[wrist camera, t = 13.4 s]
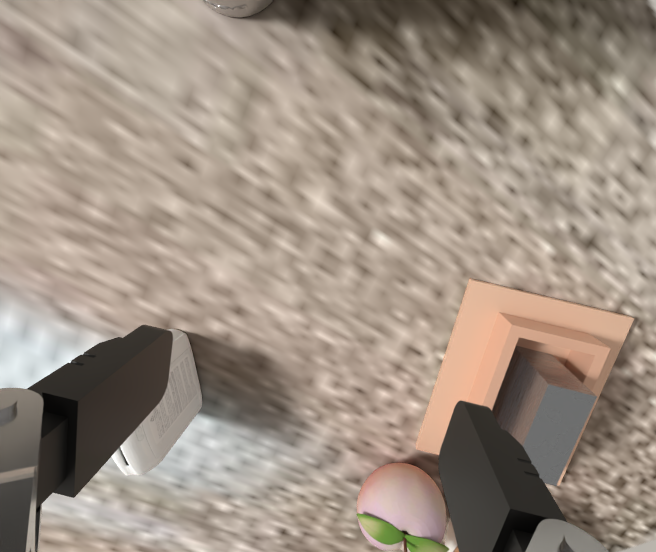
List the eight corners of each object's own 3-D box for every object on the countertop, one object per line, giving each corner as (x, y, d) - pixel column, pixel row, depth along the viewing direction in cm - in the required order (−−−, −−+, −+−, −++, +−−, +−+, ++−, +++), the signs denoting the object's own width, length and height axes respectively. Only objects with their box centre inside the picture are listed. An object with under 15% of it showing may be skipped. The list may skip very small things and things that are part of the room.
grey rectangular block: (512, 344, 40) (548, 384, 32) (551, 354, 39) (597, 396, 32) (483, 420, 42) (510, 474, 34) (520, 429, 42) (556, 486, 34)
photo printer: (153, 329, 44) (73, 384, 32) (188, 325, 43) (121, 380, 31) (173, 410, 46) (106, 490, 34) (208, 407, 46) (152, 488, 34)
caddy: (415, 444, 44) (420, 472, 40) (469, 278, 39) (482, 289, 35) (555, 480, 44) (576, 512, 39) (628, 315, 39) (661, 332, 34)
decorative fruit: (446, 449, 44) (468, 524, 34) (430, 508, 46) (447, 594, 36) (363, 433, 44) (363, 502, 35) (351, 492, 46) (348, 573, 37)
